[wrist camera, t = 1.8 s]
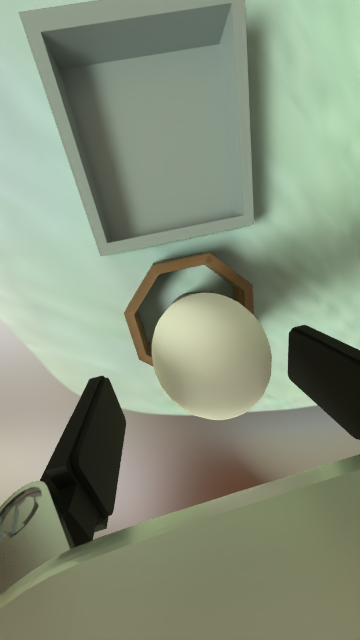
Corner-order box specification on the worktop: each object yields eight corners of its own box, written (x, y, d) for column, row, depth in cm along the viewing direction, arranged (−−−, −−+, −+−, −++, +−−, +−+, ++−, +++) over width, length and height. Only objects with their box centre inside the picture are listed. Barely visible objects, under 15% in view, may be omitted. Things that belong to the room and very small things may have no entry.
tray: (225, 35, 12) (244, -21, 9) (238, 228, 16) (254, 224, 13) (48, 64, 11) (18, 12, 9) (109, 255, 15) (100, 256, 13)
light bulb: (208, 265, 16) (295, 289, 6) (231, 327, 19) (322, 419, 9) (139, 298, 17) (113, 374, 6) (171, 355, 19) (190, 476, 9)
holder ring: (236, 245, 16) (250, 244, 14) (244, 348, 20) (256, 361, 17) (117, 270, 16) (111, 274, 13) (149, 370, 19) (148, 387, 17)
